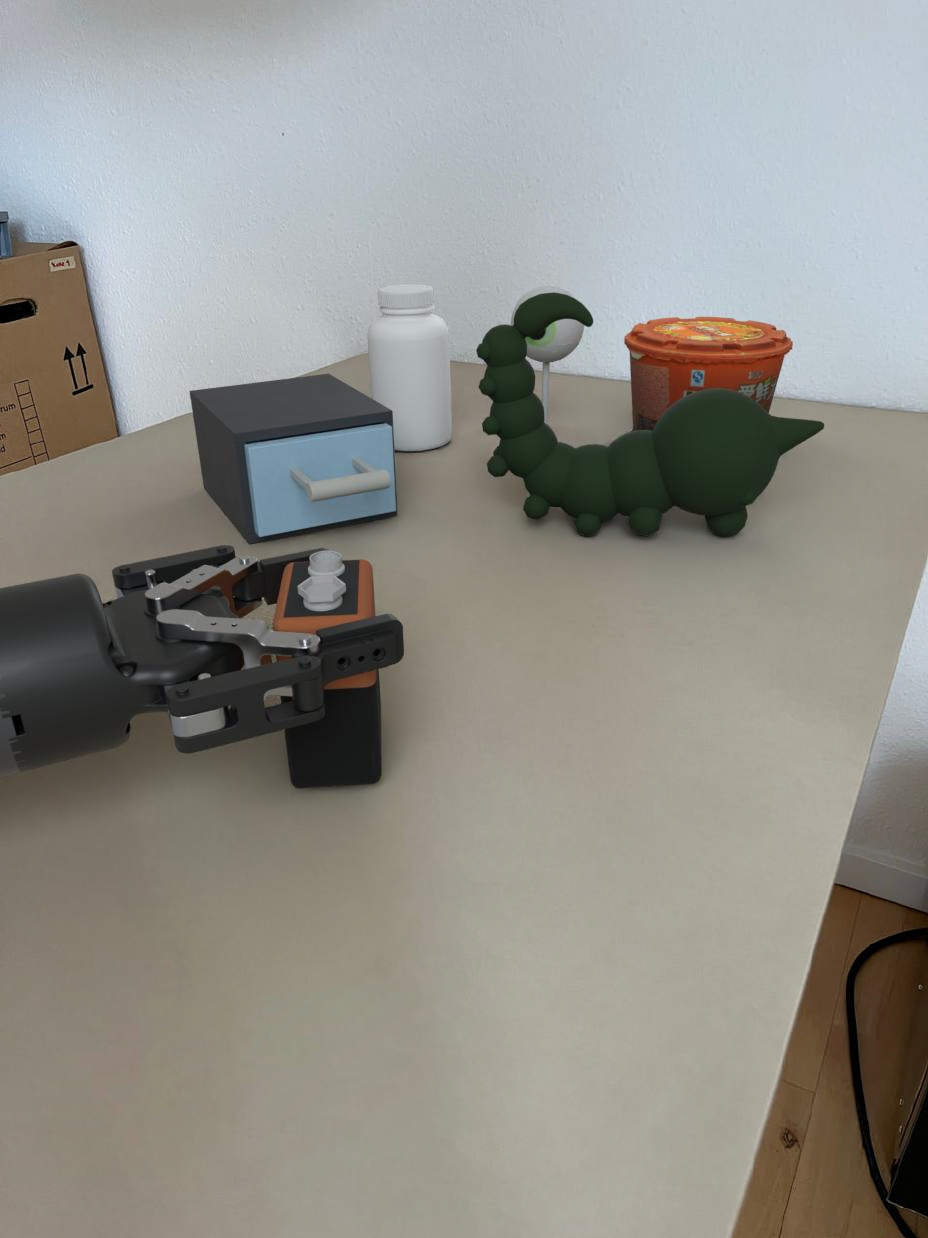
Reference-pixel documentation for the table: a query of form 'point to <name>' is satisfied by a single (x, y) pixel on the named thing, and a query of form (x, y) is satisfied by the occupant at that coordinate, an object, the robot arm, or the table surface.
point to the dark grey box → (271, 434)
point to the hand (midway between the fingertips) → (365, 600)
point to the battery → (352, 705)
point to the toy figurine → (629, 443)
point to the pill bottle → (411, 366)
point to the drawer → (320, 477)
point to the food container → (701, 362)
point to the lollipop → (551, 340)
